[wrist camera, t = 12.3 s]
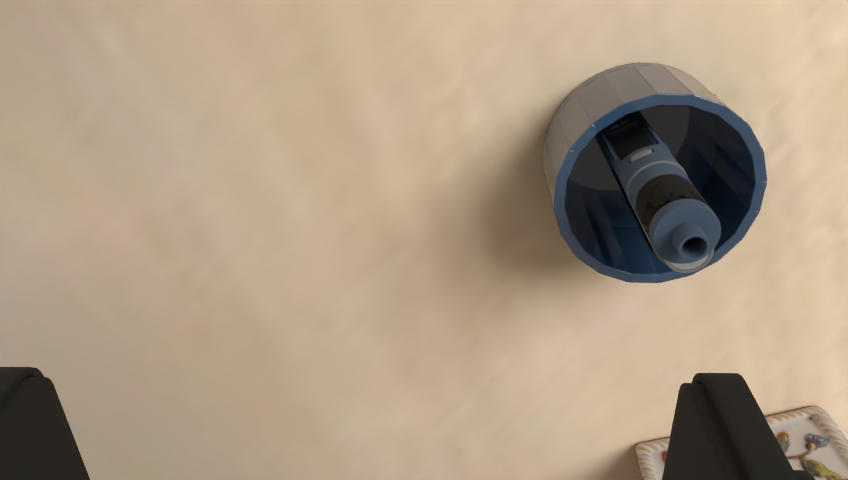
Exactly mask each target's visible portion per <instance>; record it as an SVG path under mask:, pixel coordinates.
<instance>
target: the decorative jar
mask: <svg viewBox="0 0 848 480" xmlns="http://www.w3.org/2000/svg"><path fill="white" fill-rule="evenodd" d="M765 419H766V420H767V422H768V424H769V426H770V428H771V430H772V431H773V433H774V435H775V437H776V439H777V441H778V443H779V444H780V446H781V448H782V450H783V452H784V454H785V455H786V457H787V459H788V461H789V463H790V465H791V466H792V468H793V470H804V471H807V472H808V473H809V474H811V475H812V476H813V477H814V478H815V480H848V440H847V439H846V437H845V436H844V434H843V433H842V432H841V430H840V429H839V428H838V426H837V425H836V423H835V422H834V421H833V419H832V418H831V417H830V415H829V414H828V413H827V412H826V411H825V410H824V409H822V408H820V407H818V406H811V407H806V408H802V409H798V410H794V411H789V412H785V413H781V414H776V415H771V416H768V417H765ZM669 440H670V438H666V439H658V440H654V441H650V442H643V443H639V444H637V446H636V447H635V451H636V454H637V457H638V462H639V466H640V470H641V473H642V478H643V480H662V476H663V471H664V466H665V461H666V456H667V451H668V445H669Z"/></svg>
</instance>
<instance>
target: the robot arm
mask: <svg viewBox="0 0 848 480" xmlns="http://www.w3.org/2000/svg"><path fill="white" fill-rule="evenodd" d="M0 480H90V478H89V476H88V473H87V471H86V468H85V465H84V463H83V460H82V458H81V455H80V452H79V450H78V447H77V445H76V442H75V439H74V437H73V434H72V432H71V429H70V426H69V424H68V421H67V419H66V416H65V413H64V411H63V408H62V406H61V403H60V400H59V398H58V395H57V393H56V390H55V387H54V385H53V383H52V381H51V380H50V379H49V378H47V377H44V376H43V374H42V373H41V371H40V370H38V369H37V368H32V367H0ZM662 480H815V478H814V477H813V476H812V475H811V474H809V473H808V472H807V471H804V470H793V468H792V466H791V465H790V463H789V461H788V459H787V457H786V455H785V454H784V452H783V450H782V448H781V446H780V444H779V443H778V441H777V439H776V437H775V435H774V433H773V431H772V430H771V428H770V426H769V424H768V422H767V420H766V419H765V417H764V415H763V413H762V411H761V409H760V408H759V406H758V404H757V402H756V400H755V398H754V396H753V395H752V393H751V391H750V389H749V387H748V385H747V384H746V382H745V380H744V379H743V377H742V376H741V375H739V374H738V373H698V374H696V375H695V376H694V378H693V381H692V383H683V384H682V385H681V386H680V390H679V394H678V399H677V404H676V410H675V415H674V420H673V425H672V430H671V435H670V440H669V445H668V451H667V456H666V461H665V466H664V471H663V476H662Z"/></svg>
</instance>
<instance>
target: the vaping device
mask: <svg viewBox="0 0 848 480" xmlns="http://www.w3.org/2000/svg"><path fill="white" fill-rule="evenodd" d="M598 138H599V141H600V143H601V145H602V147H603V149H604V151H605V153H606V155H607V157H608V159H609V161H610V163H611V165H612V167H613V168H611V170H612V172H613V174H614V176H615V178H616V181H617V183H618V185H619V187H620V189H621V191H622V193H623V195H624V197H625V199H627V198H628V200H629V202H628V201H627V200H626V201H627V203H628V205H629V207H630V209H631V211H632V213H633V215H634V217H635V219H636V221H637V223H638V225H639V227H640V229H641V231H642V233H643V235H644V237H645V239H646V241H647V243H648V245H649V247H650V249H651V251H652V252H653V253H654V255H656V256H657V258H658V259H659V260H660V261H661V262H663V263H665V264H667V265H668V267H669V268H671V269H672V270H674V271H676V272H680V273H690V272H694V271H697V270H699V269H701V268H703V267H704V266H706V265H707V264H708V263H709V261H710V260H711V258H712V256H713V254H714V248H715V247H716V245H717V243H718V241H719V239H720V235H721V225H720V222H719V219H718V217H717V216H716V214H715V213H714V212H713V210H712V209H711V208H710V206H709V205H708V204H707V202H706V201H705V200H704V198H703V197H701V194H700V193H699V192H698V190H697V189H696V188H695V186H694V185H693V184H692V182H691V181H690V180H689V178H688V176H687V174H686V172H685V170H684V169H683V168H682V167H681V165H679V163H678V162H677V161H676V159H675V158H674V157H673V155H672V154H671V152H670V150H669V148H668V146H667V144H666V142H665V143H663V142H662V141H661V139H660V138H659V137H658V135H657V134H656V133H655V131H654V130H653V129H652V127H651V126H650V125H649V123H648V122H647V120H646V119H645V118H644V116H643V115H642V114H641V113H640V112H638V111H636V112H633V113H629V114H626V115H625V116H623V117H621V118H620V119H618V120H617V121H615V122H613V123H612V124H610V125H609V126H607V127H605V128H604V129H602V130H601V131H599V132H598ZM698 195H699V196H698ZM700 199H701V200H700ZM702 199H703V200H702ZM704 202H705V203H704Z"/></svg>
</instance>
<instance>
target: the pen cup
mask: <svg viewBox="0 0 848 480" xmlns="http://www.w3.org/2000/svg"><path fill="white" fill-rule="evenodd" d="M636 111H638V112H640V113H641V114H642V115H643V116H644V118H645V119H646V120H647V122H648V123H649V125H650V126H651V127H652V129H653V130H654V131H655V133H656V134H657V135H658V137H659V138H660V139H661V141H662V142H663V143H665V142H666V144H667V146H668V148H669V150H670V152H671V154H672V155H673V157H674V158H675V159H676V161H677V162H678V163H679V165H681V167H682V168H683V169H684V170H685V172H686V174H687V176H688V178H689V180H690V181H691V182H692V184H693V185H694V186H695V188H696V189H697V190H698V192H699V193H700V194H701V197H703V198H704V200H705V201H706V202H707V204H708V205H709V206H710V208H711V209H712V210H713V212H714V213H715V214H716V216H717V217H718V219H719V222H720V225H721V235H720V239H719V241H718V243H717V245H716V247H715V248H714V254H713V256H712V258H711V260H710V261H709V263H708V264H707V265H706V266H704V267H703V268H701V269H699V270H697V271H694V272H690V273H680V272H676V271H674V270H672V269H671V268H669V267H668V265H667V264H665V263H663V262H661V261H660V260H659V259H658V258H657V256H656V255H654V253H653V252H652V251H651V249H650V247H649V245H648V243H647V241H646V239H645V237H644V235H643V233H642V231H641V229H640V227H639V225H638V223H637V221H636V219H635V217H634V215H633V213H632V211H631V209H630V207H629V205H628V203H627V201H628V202H629V200H628V198H627V199H625V197H624V195H623V193H622V191H621V189H620V187H619V185H618V183H617V181H616V178H615V176H614V174H613V172H612V170H611V168H613V167H612V165H611V163H610V161H609V159H608V157H607V155H606V153H605V151H604V149H603V147H602V145H601V143H600V141H599V138H598V132H599V131H601V130H602V129H604V128H605V127H607V126H609V125H610V124H612V123H613V122H615V121H617V120H618V119H620V118H621V117H623V116H625V115H626V114H629V113H633V112H636ZM543 170H544V174H545V178H546V182H547V186H548V189H549V193H550V197H551V201H552V205H553V208H554V212H555V216H556V220H557V223H558V227H559V231H560V234H561V236H562V237H563V239H564V240H565V242H566V243H567V244H568V246H569V247H570V249H571V250H572V251H573V253H574V254H575V256H576V257H577V258H579V259H580V260H581V261H583V262H584V263H586V264H587V265H589V266H590V267H591V268H593V269H594V270H596V271H597V272H599V273H601V274H603V275H606V276H610V277H613V278H616V279H619V280H623V281H626V282H637V283H661V282H665V281H670V280H674V279H678V278H682V277H686V276H690V275H692V274H694V273H696V272H698V271H700V270H702V269H704V268H706V267H708V266H710V265H712V264H713V263H715V262H717V261H718V260H720V259H721V258H722V257H723V256H724V255H726V254H727V253H728V252H729V251H730V250H731V249H732V248H733V247H734V246H735V245H736V244H738V243H739V242H740V241H741V240H742V238H744V236H745V234H746V233H747V231H748V230H749V228H750V226H751V225H752V223H753V222H754V220H755V218H756V217H757V215H758V214H759V211H760V208H761V204H762V200H763V196H764V192H765V188H766V184H767V182H766V181H767V175H766V166H765V158H764V152H763V149H762V147H761V145H760V144H759V142H758V140H757V138H756V136H755V134H754V132H753V131H752V129H751V127H750V126H749V124H748V123H747V122H746V121H744V120H743V119H742V118H741V117H740V116H739V115H737V114H736V113H735V112H734V111H733V110H732V109H730V108H729V107H728V106H727V105H726V104H725V103H723V102H722V101H721V100H720V99H719V98H718V97H717V96H715V95H714V94H713V93H712V92H711V91H709V90H708V89H707V88H706V87H705V86H703V85H702V84H701V83H700V82H699V81H697V80H696V79H695V78H694V77H692V76H690V75H689V74H687V73H685V72H683V71H681V70H679V69H676V68H673V67H670V66H666V65H662V64H656V63H632V64H626V65H621V66H617V67H614V68H611V69H608V70H606V71H603V72H601V73H599V74H597V75H595V76H593V77H592V78H590V79H588V80H587V81H585V82H584V83H582V84H581V85H580V86H579V87H577V88H576V89H575V90H574V91H573V92H572V93H571V94H570V95H569V96H568V97H567V98H566V99H565V100H564V101H563V103H562V104H561V105H560V107H559V108H558V109H557V111H556V113H555V114H554V116H553V118H552V120H551V122H550V124H549V127H548V129H547V133H546V136H545V139H544V146H543ZM698 196H699V195H698ZM626 200H627V201H626ZM700 200H701V199H700ZM702 200H703V199H702ZM704 203H705V202H704Z"/></svg>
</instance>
